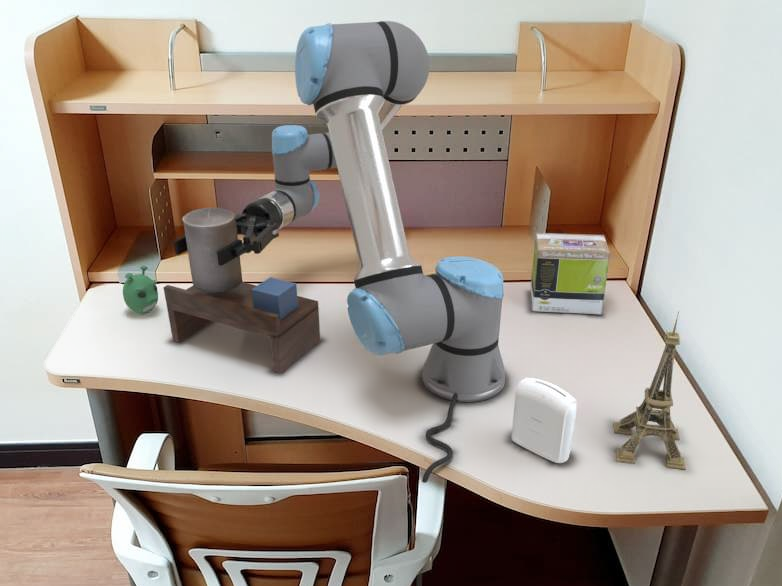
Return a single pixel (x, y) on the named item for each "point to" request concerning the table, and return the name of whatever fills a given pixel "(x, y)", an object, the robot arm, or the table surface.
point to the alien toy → (140, 292)
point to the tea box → (569, 273)
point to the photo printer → (544, 419)
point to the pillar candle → (211, 249)
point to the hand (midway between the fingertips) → (197, 253)
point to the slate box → (275, 296)
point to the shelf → (245, 319)
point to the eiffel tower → (654, 412)
